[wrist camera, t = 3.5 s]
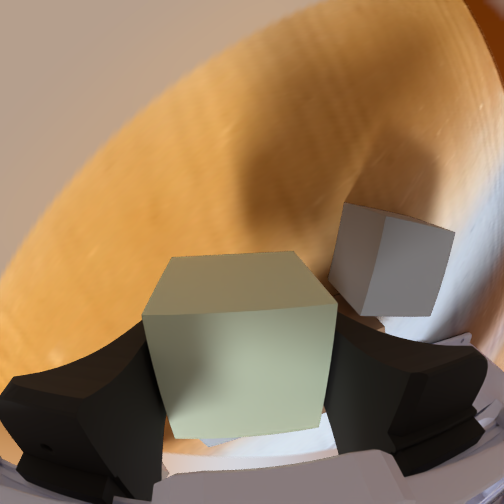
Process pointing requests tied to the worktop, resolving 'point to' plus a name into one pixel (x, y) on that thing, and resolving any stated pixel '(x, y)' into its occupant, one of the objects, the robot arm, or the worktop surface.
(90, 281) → the worktop surface
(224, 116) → the worktop surface
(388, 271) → the charcoal block
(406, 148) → the worktop surface
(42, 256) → the worktop surface
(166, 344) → the sage block
